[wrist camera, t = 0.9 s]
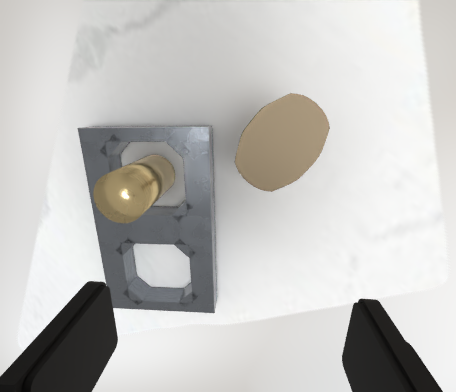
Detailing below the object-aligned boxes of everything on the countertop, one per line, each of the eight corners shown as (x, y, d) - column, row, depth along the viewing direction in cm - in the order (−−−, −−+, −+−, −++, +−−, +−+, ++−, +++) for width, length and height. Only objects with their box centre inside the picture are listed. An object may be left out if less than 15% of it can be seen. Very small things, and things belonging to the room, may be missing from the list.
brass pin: (135, 154, 33) (89, 172, 24) (173, 154, 33) (142, 172, 23) (139, 192, 35) (98, 222, 25) (176, 192, 34) (148, 223, 25)
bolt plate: (92, 126, 32) (77, 128, 30) (212, 125, 31) (208, 127, 28) (120, 293, 40) (110, 307, 37) (217, 298, 39) (214, 313, 36)
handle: (233, 138, 31) (220, 160, 17) (269, 93, 30) (286, 76, 15) (264, 163, 32) (275, 204, 18) (300, 121, 30) (345, 129, 16)
